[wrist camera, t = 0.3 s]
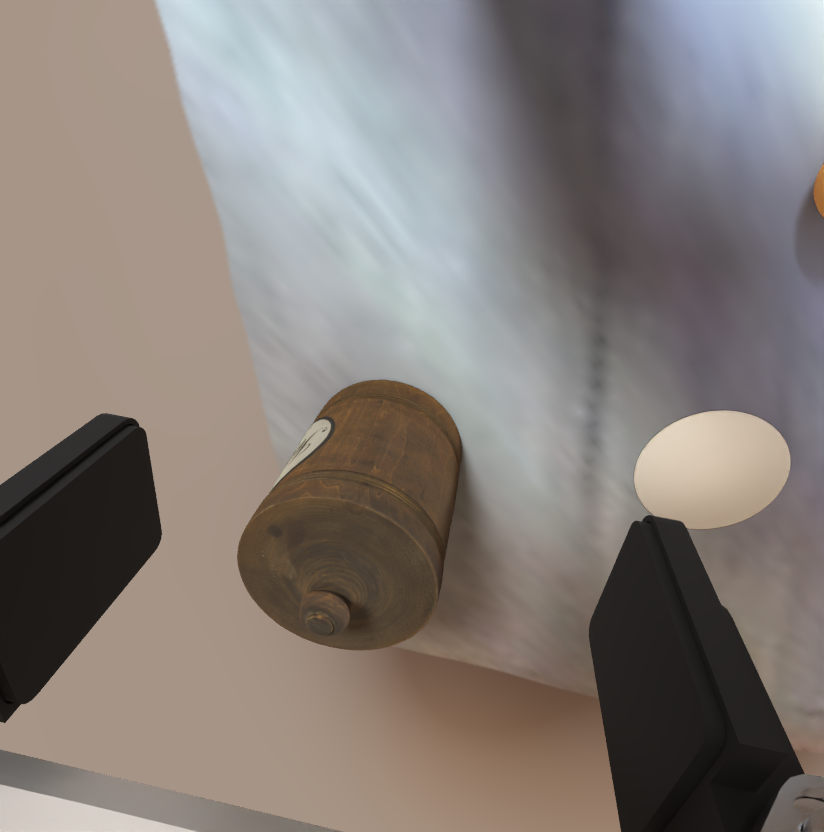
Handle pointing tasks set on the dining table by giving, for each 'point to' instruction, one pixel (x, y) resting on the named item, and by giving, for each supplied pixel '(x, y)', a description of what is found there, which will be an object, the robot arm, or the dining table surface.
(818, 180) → the ball
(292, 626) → the wooden container
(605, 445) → the dining table surface
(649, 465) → the cream disc
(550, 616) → the dining table surface
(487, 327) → the dining table surface
